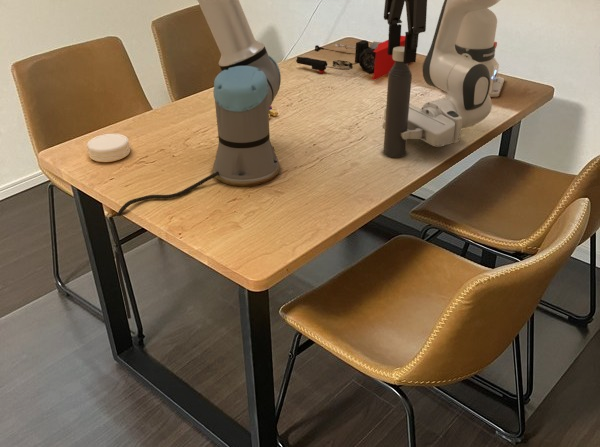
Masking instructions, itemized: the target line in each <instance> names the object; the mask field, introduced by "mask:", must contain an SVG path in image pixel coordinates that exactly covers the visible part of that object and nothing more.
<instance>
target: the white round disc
mask: <svg viewBox="0 0 600 447" xmlns="http://www.w3.org/2000/svg"><path fill="white" fill-rule="evenodd" d="M86 148H87V152H88V157H89V158H90V159H91V160H93V161H95V162H97V163H110V162H117V161H120V160H122V159H124V158H126V157H127V156H128V155H129V154H130V153H131V147H130V140H129V138H128V136H126V135H124V134H121V133H104V134H100V135H97V136H95V137H92V138H90V140H88V142H87V143H86Z"/></svg>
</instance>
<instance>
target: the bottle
mask: <svg viewBox="0 0 600 447" xmlns="http://www.w3.org/2000/svg"><path fill="white" fill-rule="evenodd" d="M412 77H413V74H412V71H411V69H410V66H409V64H405V63H403V62H400V61H395V64H394V65H393V67H392V68H391V70H390V71H389V73H388V74H387V89H386V90H387V91H386V104H385V105H386V106H385V108H386V120H384V121H385V129H384V136H383V137H384V138H383V139H384V140H383V152H382V153H383V155H384V156H386V157H389V158H392V159H393V158H396V159H397V158H402V157H405V155H406V148H407V139H406V140H404V139H402V138H401V137H400V132H401V131H404V130H407V126H408V114H409V104H410V101H411V100H410V99H411V90H412Z"/></svg>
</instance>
